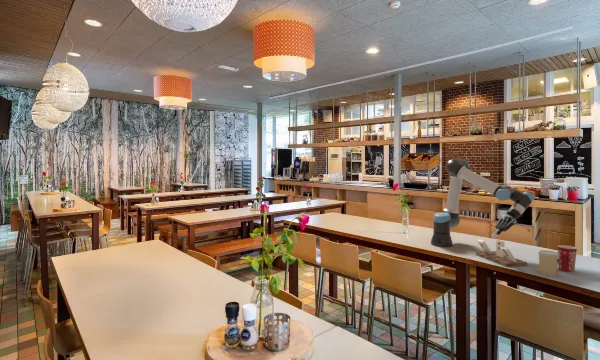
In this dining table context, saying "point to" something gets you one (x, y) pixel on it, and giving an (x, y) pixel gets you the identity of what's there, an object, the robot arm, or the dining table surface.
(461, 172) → the robot arm
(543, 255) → the coffee cup
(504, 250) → the tile
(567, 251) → the mug
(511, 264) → the tap board
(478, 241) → the tile
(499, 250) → the tile
